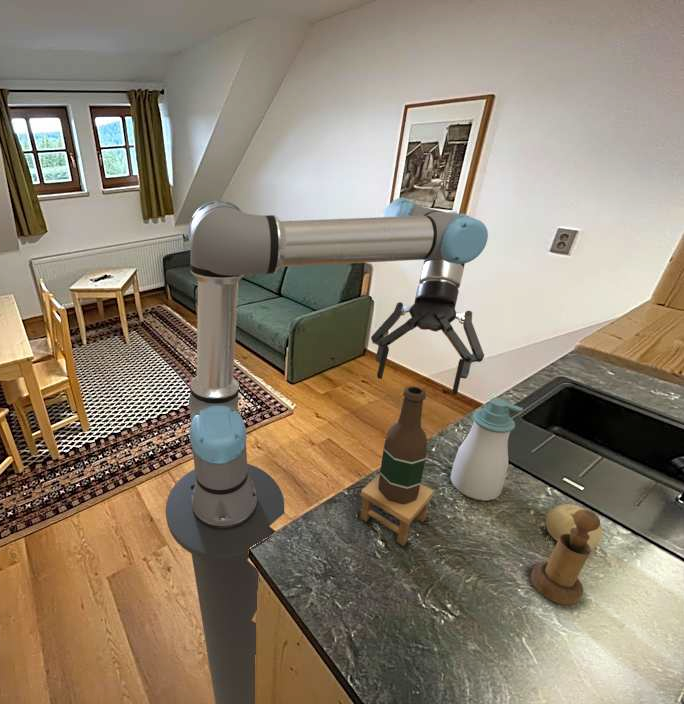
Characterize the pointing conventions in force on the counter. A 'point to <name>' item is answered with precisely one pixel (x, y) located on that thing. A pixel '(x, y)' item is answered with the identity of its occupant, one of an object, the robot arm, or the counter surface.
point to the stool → (395, 508)
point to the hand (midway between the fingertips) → (415, 385)
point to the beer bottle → (404, 451)
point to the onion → (568, 523)
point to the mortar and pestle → (566, 562)
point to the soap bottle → (485, 452)
